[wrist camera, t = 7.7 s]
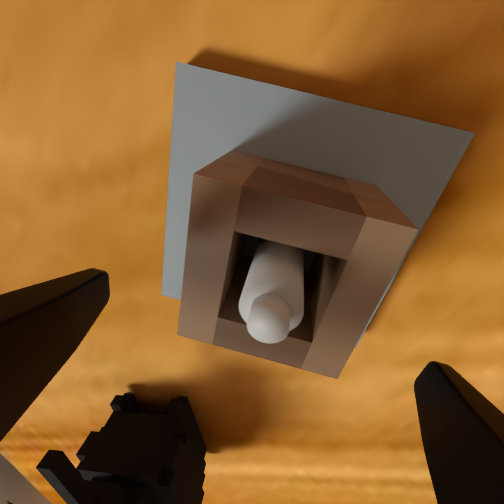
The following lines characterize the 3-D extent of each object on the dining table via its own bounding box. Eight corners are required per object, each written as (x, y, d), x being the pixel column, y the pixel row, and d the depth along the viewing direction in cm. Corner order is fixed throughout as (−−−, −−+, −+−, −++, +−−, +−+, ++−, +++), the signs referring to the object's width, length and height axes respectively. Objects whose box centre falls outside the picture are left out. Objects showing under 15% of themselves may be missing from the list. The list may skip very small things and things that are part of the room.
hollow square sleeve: (327, 300, 15) (337, 378, 11) (212, 270, 15) (177, 334, 11) (376, 185, 12) (418, 229, 8) (231, 150, 12) (193, 173, 8)
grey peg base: (462, 131, 12) (696, 165, 5) (352, 336, 17) (385, 485, 10) (185, 64, 12) (30, 8, 5) (168, 285, 18) (84, 396, 11)
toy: (178, 343, 20) (84, 523, 12) (216, 454, 26) (174, 626, 18) (90, 342, 22) (-53, 500, 13) (146, 447, 28) (74, 602, 19)
